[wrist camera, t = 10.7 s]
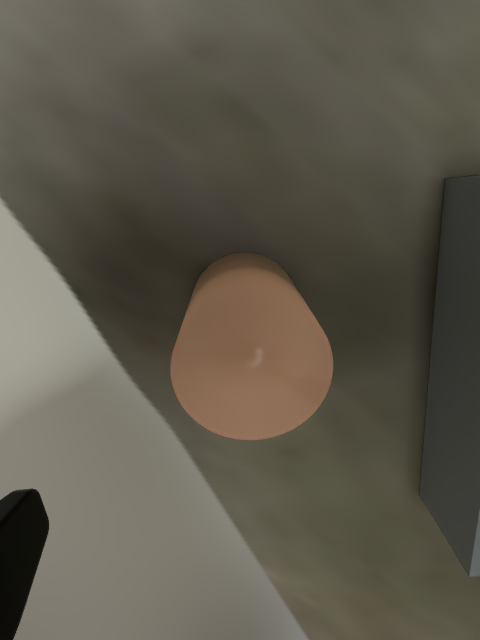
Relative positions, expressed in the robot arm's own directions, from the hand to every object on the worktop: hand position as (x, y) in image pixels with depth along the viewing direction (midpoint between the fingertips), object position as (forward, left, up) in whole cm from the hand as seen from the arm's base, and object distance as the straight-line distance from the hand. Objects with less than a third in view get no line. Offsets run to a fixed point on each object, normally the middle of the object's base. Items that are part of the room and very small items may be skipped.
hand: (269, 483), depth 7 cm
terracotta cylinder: (0, 0, -12) cm, 12 cm away
